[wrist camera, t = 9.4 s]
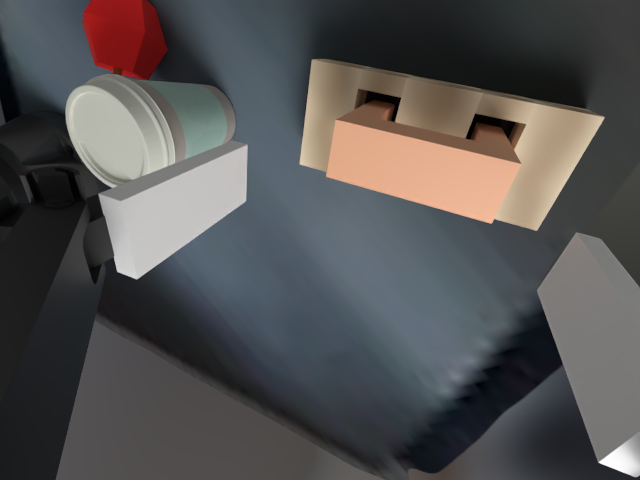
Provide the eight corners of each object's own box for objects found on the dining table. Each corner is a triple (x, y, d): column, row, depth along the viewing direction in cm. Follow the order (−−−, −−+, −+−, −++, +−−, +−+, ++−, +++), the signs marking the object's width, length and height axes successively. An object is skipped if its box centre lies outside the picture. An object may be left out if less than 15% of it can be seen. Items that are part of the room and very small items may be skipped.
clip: (364, 141, 29) (326, 176, 20) (373, 99, 27) (335, 119, 19) (482, 171, 26) (491, 223, 18) (501, 127, 24) (521, 164, 16)
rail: (314, 154, 31) (299, 164, 28) (327, 58, 26) (311, 59, 24) (528, 211, 26) (537, 230, 24) (586, 109, 22) (604, 117, 19)
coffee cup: (162, 92, 34) (40, 108, 24) (219, 51, 29) (99, 49, 20) (205, 169, 36) (111, 211, 26) (262, 140, 32) (176, 178, 22)
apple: (53, -51, 25) (46, 60, 26) (137, -32, 25) (124, 79, 26) (116, -2, 32) (107, 84, 33) (182, 14, 31) (170, 100, 33)
